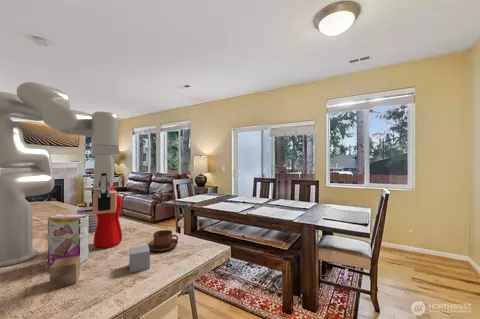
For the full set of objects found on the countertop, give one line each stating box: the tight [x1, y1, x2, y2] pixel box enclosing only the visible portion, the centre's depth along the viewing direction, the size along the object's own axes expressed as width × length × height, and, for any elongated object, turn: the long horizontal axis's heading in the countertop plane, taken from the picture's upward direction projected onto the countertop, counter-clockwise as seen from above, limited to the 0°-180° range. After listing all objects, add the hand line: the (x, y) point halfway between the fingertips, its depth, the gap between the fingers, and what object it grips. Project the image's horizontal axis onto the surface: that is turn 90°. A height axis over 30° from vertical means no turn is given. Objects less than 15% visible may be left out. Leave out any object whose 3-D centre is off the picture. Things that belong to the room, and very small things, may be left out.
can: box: [76, 206, 97, 234], centre depth 112 cm, size 11×11×12 cm
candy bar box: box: [47, 213, 90, 266], centre depth 78 cm, size 11×5×16 cm, turn 92°
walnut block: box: [49, 256, 81, 291], centre depth 65 cm, size 6×6×6 cm
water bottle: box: [93, 185, 123, 249], centre depth 94 cm, size 9×11×25 cm
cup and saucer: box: [146, 229, 179, 252], centre depth 91 cm, size 12×12×6 cm
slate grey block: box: [128, 244, 151, 274], centre depth 75 cm, size 6×6×6 cm
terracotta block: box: [92, 190, 117, 214], centre depth 70 cm, size 6×6×6 cm
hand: (105, 207), depth 70 cm, fingers closed on terracotta block, 6 cm apart
